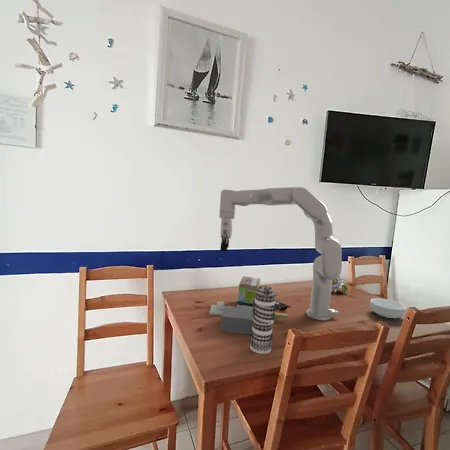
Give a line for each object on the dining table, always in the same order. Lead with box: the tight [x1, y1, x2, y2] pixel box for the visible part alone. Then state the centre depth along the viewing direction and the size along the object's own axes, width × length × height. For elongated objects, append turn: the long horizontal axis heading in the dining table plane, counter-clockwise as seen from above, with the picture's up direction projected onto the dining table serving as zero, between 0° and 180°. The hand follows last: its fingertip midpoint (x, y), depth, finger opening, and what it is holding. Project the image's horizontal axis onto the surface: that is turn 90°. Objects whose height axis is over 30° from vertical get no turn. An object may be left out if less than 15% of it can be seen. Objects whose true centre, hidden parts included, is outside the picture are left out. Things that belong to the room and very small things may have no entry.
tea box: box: [236, 275, 261, 309], centre depth 161 cm, size 15×10×15 cm
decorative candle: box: [249, 285, 277, 355], centre depth 119 cm, size 9×9×25 cm
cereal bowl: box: [369, 297, 407, 319], centre depth 162 cm, size 17×17×7 cm
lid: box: [209, 300, 232, 316], centre depth 153 cm, size 10×10×5 cm
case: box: [220, 305, 255, 336], centre depth 136 cm, size 17×12×7 cm
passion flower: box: [331, 275, 350, 295], centre depth 197 cm, size 13×12×14 cm
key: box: [273, 311, 289, 322], centre depth 147 cm, size 11×2×3 cm, turn 85°
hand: (224, 249), depth 150 cm, fingers open, 9 cm apart
